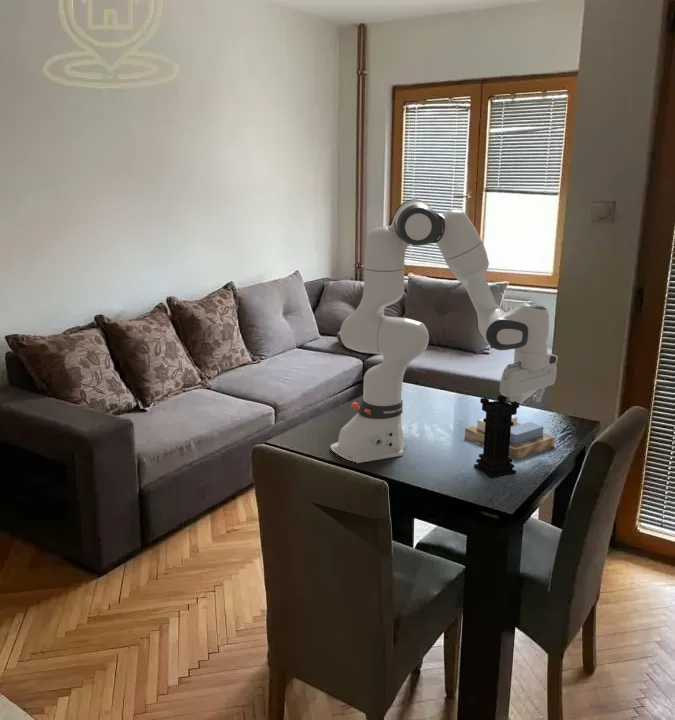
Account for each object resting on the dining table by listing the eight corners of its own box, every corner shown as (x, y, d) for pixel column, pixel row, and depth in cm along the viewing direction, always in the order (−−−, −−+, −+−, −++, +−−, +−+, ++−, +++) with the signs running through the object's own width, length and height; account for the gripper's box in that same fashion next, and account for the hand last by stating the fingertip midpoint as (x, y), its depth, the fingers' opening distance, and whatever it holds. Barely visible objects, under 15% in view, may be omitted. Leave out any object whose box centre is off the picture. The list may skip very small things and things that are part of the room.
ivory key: (489, 434, 203) (489, 424, 202) (477, 429, 207) (477, 419, 206) (516, 426, 209) (517, 417, 209) (504, 421, 213) (504, 412, 213)
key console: (515, 459, 192) (516, 449, 192) (464, 437, 208) (465, 428, 207) (554, 446, 202) (555, 437, 201) (502, 426, 218) (503, 417, 217)
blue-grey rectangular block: (515, 444, 195) (516, 434, 194) (502, 439, 199) (502, 429, 198) (542, 436, 202) (543, 426, 201) (529, 431, 205) (530, 421, 205)
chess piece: (491, 478, 180) (496, 407, 175) (473, 467, 187) (478, 398, 182) (515, 473, 183) (521, 403, 178) (497, 462, 190) (502, 394, 185)
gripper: (513, 368, 185) (509, 415, 189) (561, 355, 196) (557, 400, 200) (496, 362, 190) (493, 408, 194) (544, 350, 201) (540, 394, 205)
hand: (526, 404), depth 197 cm, fingers open, 8 cm apart
